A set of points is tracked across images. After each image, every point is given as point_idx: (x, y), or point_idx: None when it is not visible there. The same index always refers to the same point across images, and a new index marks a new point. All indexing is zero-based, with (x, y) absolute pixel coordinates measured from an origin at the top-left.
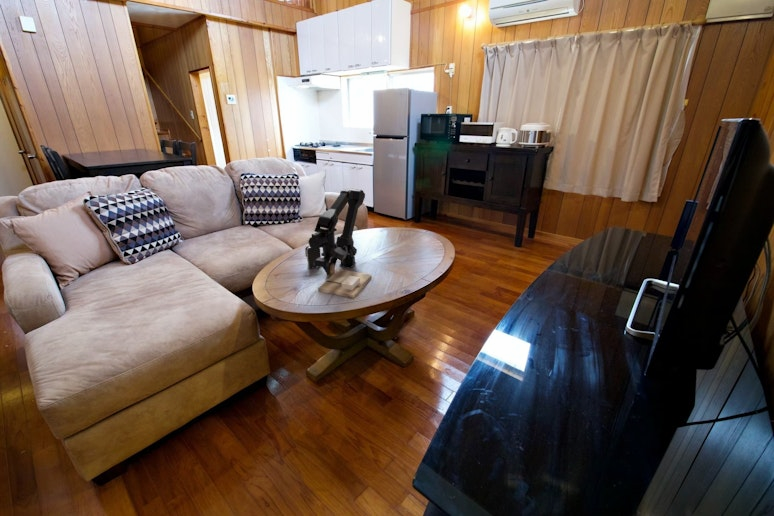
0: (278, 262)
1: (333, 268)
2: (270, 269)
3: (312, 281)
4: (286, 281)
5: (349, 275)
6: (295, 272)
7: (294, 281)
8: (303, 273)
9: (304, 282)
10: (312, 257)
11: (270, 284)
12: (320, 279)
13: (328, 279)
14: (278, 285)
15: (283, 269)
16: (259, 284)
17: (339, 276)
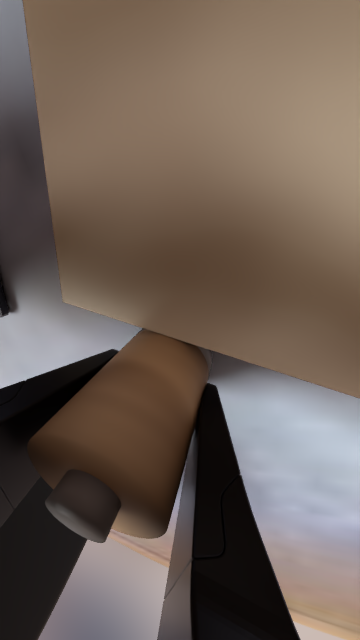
0: (110, 535)
1: (145, 395)
2: (169, 565)
3: (297, 472)
4: (290, 566)
5: (187, 35)
6: (174, 516)
7: (291, 544)
8: (177, 494)
9: (313, 512)
10: (43, 554)
11: (325, 612)
12: (257, 424)
13: (352, 386)
14: (345, 601)
15: (158, 539)
16: (320, 630)
17: (248, 250)
